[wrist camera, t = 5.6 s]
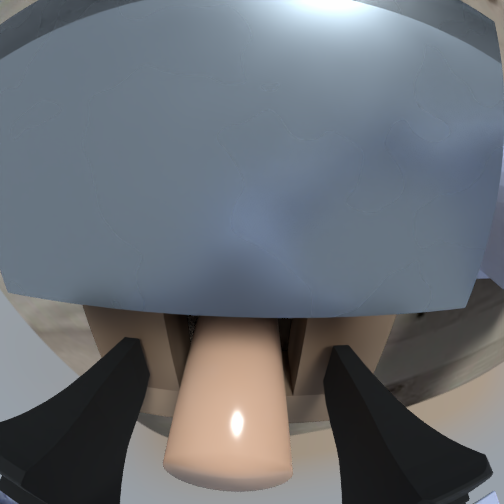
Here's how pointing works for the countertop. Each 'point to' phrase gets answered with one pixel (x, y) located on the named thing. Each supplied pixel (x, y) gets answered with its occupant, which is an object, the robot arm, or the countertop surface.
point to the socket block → (294, 360)
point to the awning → (249, 155)
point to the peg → (231, 408)
